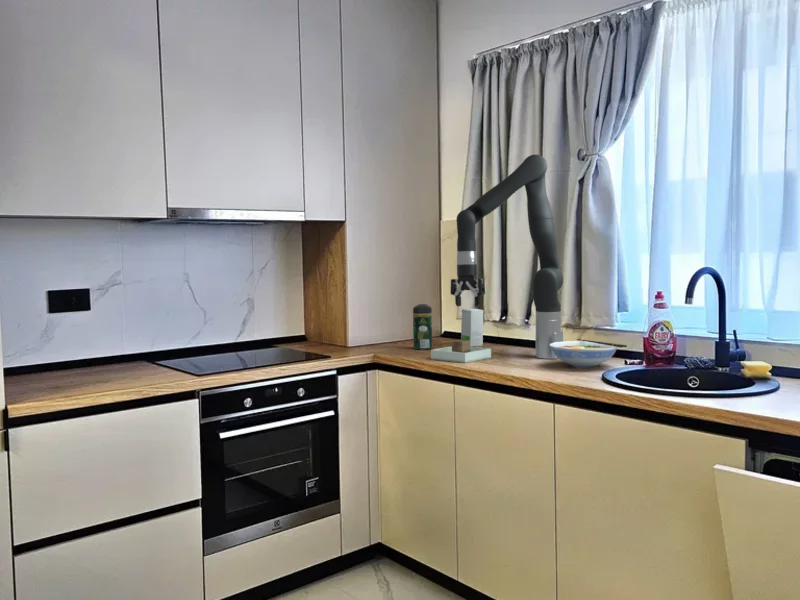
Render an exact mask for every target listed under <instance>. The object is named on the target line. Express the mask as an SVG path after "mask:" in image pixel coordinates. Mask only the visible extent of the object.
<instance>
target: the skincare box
mask: <svg viewBox="0 0 800 600" xmlns="http://www.w3.org/2000/svg"><path fill="white" fill-rule="evenodd" d="M460 324H461V325H460V326H461V332H460V335H461V336H460V340H467V341H470V347H483V345H484V344H483V341H484V337H483V336H484V309H480V308H473V307H472V308H461V323H460Z"/></svg>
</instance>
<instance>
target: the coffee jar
mask: <svg viewBox="0 0 800 600" xmlns="http://www.w3.org/2000/svg"><path fill="white" fill-rule="evenodd" d="M432 313H433V312H432V307H431V306H430V305H428V304H425V303H420V304H417V305H415V306H414V307H412V327H413V328H412V329H413V330H412V331H413V333H412V335H413V336H412V337H413V348H414V349H415V350H421V351H425V350H432V348H433V316H432V315H433V314H432Z"/></svg>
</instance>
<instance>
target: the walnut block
mask: <svg viewBox="0 0 800 600" xmlns="http://www.w3.org/2000/svg"><path fill="white" fill-rule="evenodd" d="M451 346H452V352H460V353H468V352H471V347H470V341H467V340H461V339H457V340H451Z"/></svg>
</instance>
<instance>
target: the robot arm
mask: <svg viewBox="0 0 800 600" xmlns="http://www.w3.org/2000/svg"><path fill="white" fill-rule="evenodd" d="M547 170H548V163H547V160H546V158H545V157H543V156H542V155H541V154H531V155H528V156H527V157H526V158H525V159H524V160H523V161H522V162H521V163H520V165H518V167H517V168H515V170H514V171H512V173H510V174H509V175H508V176H507V177H505V178H504V179H503V180H502V181H500V182H499V183H498V184H496V185H494V186H493V187H492V188H491V189H489V190H488V191H486V192H485V193H484V194H483V195H481V196H479V197H478V198H477V199H476V200H475V201H474V202H473V203H472V204H471V205H468V207H466V208H465V209H462V210H460V211H459V213H457V216H456V219H455V220H456V221H455V222H456V230H457V232H456V233H457V240H456V249H457V250H456V252H457V253H456V275H457V278H451V279H450V295H452V296H454V299H455V300H454V301H455V302H454V303H455V305H456V307H461V306H462V296H461V295H462V294H463V292H464V291H471V293H473V295H474V307H480V306H481V298H482V297H481V296H483V295H486V286H485V279H484V278H478V277H477V275H478V262H477V260H478V259H477V258H478V257H477V242H476V241H477V240H476V224H477V223H479V222H480V221H481V220H482V219H483V218H484V217H486V216H488V215H490V214H491V213H492V212H494V211H495V210H497V209H498V208H499V207H500V206H501V205H503V204H504V203H505V202H506V201H507V200H508V199H509V198H510V197H511V196H513V195H514V193H516V192H517V191H518V190H520V189H521V188H523V187H524V189H525V192H526V201H527V202H526V203H527V205H526V206H527V207H526V208H527V209H526V210H527V219H528V220H527V221H528V229H529V235H530V238H531V241H532V243H533V245H534V248H535V250H536V252H537V256H538V261H539V270H537V272H535V274H534V276H533V282H532V287H533V288H532V290H533V291H532V292H533V303H534V306H535V358H537V359H551V360H553V359H555V360H556V359H558V358H557V357H556V355H555V354H554V353H553V351H552V349H551V347H550V344H551V343H554V342H563V341H564V332H563V331H562V305H561V303H560V302H559V298H558V297H559V294H558V293H559V292H558V291H559V290H560V289H561V288H562V287H563V284H564V276H563V272H562V271H563V270H562V268H561V263H560V260H559V259H560V258H559V253H558V248H557V247H558V246H557V245H558V244H557V237H556V236H557V235H556V230H555V229H556V228H555V219H554V216H553V211H552V207H551V204H550V202H549V201H550V200H549V198H548V195H547V188H546V186H547V185H546V173H547Z"/></svg>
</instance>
